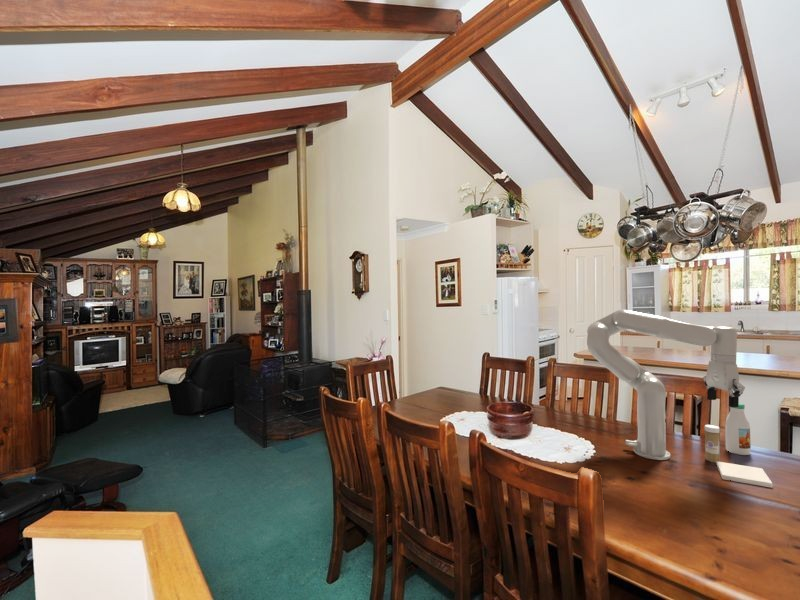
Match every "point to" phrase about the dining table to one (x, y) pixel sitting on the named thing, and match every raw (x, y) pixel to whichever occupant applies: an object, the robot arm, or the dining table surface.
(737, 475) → the ceramic tile
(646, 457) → the robot arm
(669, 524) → the dining table surface
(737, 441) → the milk bottle
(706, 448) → the sprinkles bottle
